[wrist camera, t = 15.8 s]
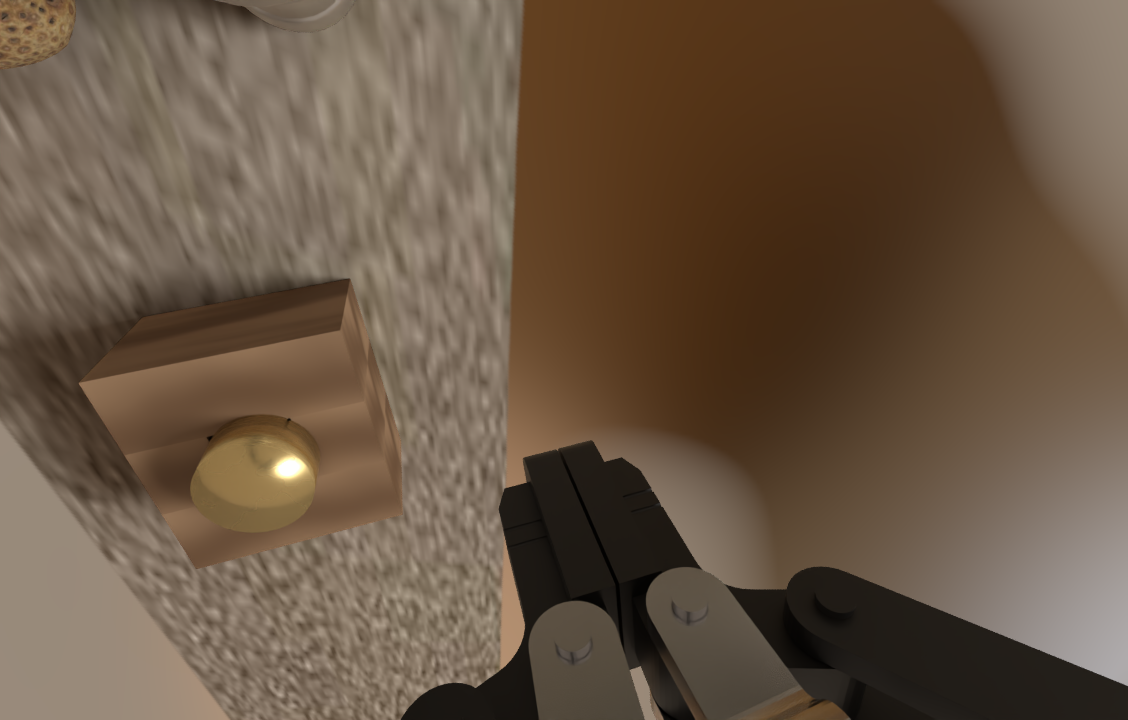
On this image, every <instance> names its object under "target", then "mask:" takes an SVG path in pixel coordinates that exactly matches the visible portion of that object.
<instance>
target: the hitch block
mask: <svg viewBox="0 0 1128 720" xmlns="http://www.w3.org/2000/svg"><path fill="white" fill-rule="evenodd" d="M79 385H80V386H81V388H82V389H83V391H84V393H85V394H86V396H87V397H88V399H89V400H90V402H91V404H92V405H93V407H94V408H95V410H96V411H97V413H98V415H99V416H100V418H101V419H102V421H103V423H104V424H105V426H106V427H107V429H108V430H109V432H110V434H111V435H112V437H113V438H114V440H115V441H116V443H117V445H118V446H119V448H120V449H121V451H122V453H123V454H124V456H125V457H126V459H127V460H128V462H129V464H130V465H131V467H132V468H133V470H134V471H135V473H136V475H137V476H138V478H139V479H140V481H141V482H142V484H143V486H144V487H145V489H146V490H147V492H148V494H149V495H150V497H151V498H152V500H153V501H154V503H155V505H156V506H157V508H158V509H159V511H160V512H161V514H162V516H163V517H164V519H165V520H166V522H167V524H168V525H169V527H170V528H171V530H172V531H173V533H174V535H175V536H176V538H177V539H178V541H179V542H180V544H181V546H182V547H183V549H184V550H185V552H186V553H187V555H188V557H189V558H190V560H191V561H192V563H193V565H194V566H195V568H196V569H199V568H202V567H206V566H210V565H214V564H217V563H221V562H225V561H229V560H233V559H236V558H240V557H244V556H248V555H251V554H255V553H259V552H263V551H267V550H270V549H274V548H278V547H282V546H285V545H289V544H293V543H297V542H301V541H304V540H308V539H312V538H316V537H319V536H323V535H327V534H331V533H335V532H338V531H342V530H346V529H350V528H353V527H357V526H361V525H365V524H368V523H372V522H376V521H380V520H384V519H387V518H391V517H395V516H399V515H402V514H403V509H402V469H401V440H400V437H399V433H398V430H397V427H396V424H395V421H394V417H393V414H392V411H391V408H390V405H389V401H388V398H387V395H386V392H385V389H384V385H383V382H382V379H381V376H380V373H379V369H378V366H377V363H376V360H375V357H374V353H373V350H372V347H371V344H370V341H369V337H368V334H367V331H366V328H365V325H364V321H363V318H362V315H361V312H360V309H359V305H358V302H357V299H356V296H355V293H354V289H353V286H352V283H351V280H350V279H346V280H340V281H335V282H330V283H324V284H319V285H313V286H308V287H303V288H297V289H292V290H286V291H281V292H276V293H270V294H265V295H259V296H254V297H249V298H243V299H238V300H232V301H227V302H222V303H216V304H211V305H205V306H200V307H195V308H189V309H184V310H178V311H173V312H168V313H162V314H157V315H151V316H146V317H142V318H141V319H140V320H139V322H138V323H137V324H136V325H135V326H134V327H133V328H132V329H131V330H130V331H129V332H128V333H127V334H126V335H125V336H124V337H123V338H122V339H121V340H120V341H119V342H118V343H117V344H116V345H115V346H114V347H113V348H112V349H111V350H110V351H109V352H108V353H107V354H106V355H105V356H104V357H103V358H102V359H101V360H100V361H99V362H98V363H97V364H96V365H95V367H94V368H93V369H92V370H91V371H90V372H89V373H88V374H87V375H86V376H85V377H84V378H83V379H82V380H81V381H80V382H79ZM258 414H266V415H275V416H280V417H284V418H287V419H288V418H290V419H291V420H292V421H294V422H296V423H298V424H300V425H301V426H303V427H304V428H305V429H306V430H308V431H309V432H310V433H311V435H312V436H313V437H314V439H315V440H316V442H317V444H318V446H319V450H320V464H319V470H318V476H317V481H316V487H315V492H314V497H313V500H312V503H311V505H310V506H309V508H308V509H307V511H306V512H305V513H304V514H303V515H302V516H301V517H300V518H299V519H297V520H296V521H294V522H293V523H291V524H289V525H287V526H285V527H282V528H279V529H276V530H272V531H267V532H258V533H249V532H239V531H234V530H230V529H227V528H224V527H221V526H219V525H217V524H215V523H213V522H211V521H210V520H208V519H207V518H206V517H205V516H203V515H202V514H201V513H200V512H199V510H198V509H197V508H196V506H195V504H194V502H193V500H192V497H191V491H190V486H191V480H192V477H193V475H194V473H195V471H196V469H197V466H198V464H199V462H200V460H201V458H202V456H203V454H204V452H205V450H206V448H207V446H208V444H209V442H210V440H211V438H212V436H213V435H214V434H215V433H216V432H217V431H218V430H219V429H220V428H221V427H222V426H224V425H225V424H227V423H229V422H230V421H232V420H235V419H237V418H240V417H244V416H249V415H258Z"/></svg>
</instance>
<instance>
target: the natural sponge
mask: <svg viewBox="0 0 1128 720" xmlns="http://www.w3.org/2000/svg"><path fill="white" fill-rule="evenodd" d="M75 17H76V6H75V0H0V70H1V69H9V68H16V67H21V66H26V65H30V64H34V63H37V62H40V61H42V60H45V59H47V58H49V57H51V56H53V55H55V54H57V53H58V52H60V51H61V50H62V49H63V48H65V47H66V46H67V45H68V42H69V40H70V37H71V35H72V31H73V27H74V23H75Z"/></svg>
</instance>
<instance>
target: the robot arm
mask: <svg viewBox="0 0 1128 720" xmlns="http://www.w3.org/2000/svg"><path fill="white" fill-rule="evenodd" d="M523 464H524V470H525V475H526V481H527V483H524V484H520V485H516V486H513V487H509V488H505V489H504V492H503V496H502V499H501V503H500V506H499V513H500V517H501V522H502V527H503V531H504V536H505V540H506V545H507V549H508V554H509V559H510V563H511V567H512V571H513V576H514V580H515V584H516V588H517V592H518V597H519V600H520V605H521V609H522V613H523V618H524V622H525V631H524V637H523V640H522V643H521V645H520V647H519V649H518V651H517V653H516V654H515V655H514V657H513V658H512V660H511V661H510V662H509V663H508V664H507V665H506V666H505V667H504V668H503V669H501V670H500V671H499V672H498V673H496V674H495V675H493V676H492V677H491V678H489V679H488V680H486V681H485V682H484V683H482V684H481V685H479V686H478V687H477V688H474V687H472V686H471V685H467V684H463V683H448V684H444V685H440V686H437V687H435V688H433V689H431V690H429V691H427V692H426V693H424V694H423V695H421V696H420V697H419V698H418V699H417V700H415V702H414V703H413V704H412V705H411V706H410V707H409V708H408V709H407V711H406V712H405V714H404V715H403V717H402V718H401V720H645V719H644V716H643V712H642V709H641V706H640V703H639V699H638V696H637V693H636V690H635V686H634V683H633V680H632V677H631V673H630V670H631V669H633V668H636V667H639V666H641V668H642V670H643V673H644V675H645V678H646V680H647V683H648V685H649V688H650V703H651V707H652V711H653V713H654V716H655V718H656V720H1128V686H1126V685H1124V684H1121V683H1119V682H1116V681H1114V680H1111V679H1109V678H1106V677H1104V676H1101V675H1099V674H1097V673H1094V672H1092V671H1089V670H1087V669H1084V668H1081V667H1079V666H1077V665H1074V664H1072V663H1069V662H1067V661H1064V660H1062V659H1059V658H1057V657H1055V656H1052V655H1050V654H1047V653H1045V652H1042V651H1040V650H1037V649H1035V648H1032V647H1029V646H1027V645H1025V644H1022V643H1020V642H1018V641H1015V640H1013V639H1010V638H1008V637H1005V636H1003V635H1000V634H998V633H995V632H993V631H990V630H988V629H985V628H983V627H980V626H978V625H975V624H973V623H971V622H968V621H966V620H963V619H961V618H958V617H956V616H953V615H951V614H948V613H946V612H943V611H941V610H938V609H936V608H933V607H931V606H929V605H926V604H924V603H921V602H919V601H916V600H914V599H911V598H909V597H906V596H904V595H901V594H899V593H896V592H894V591H892V590H889V589H886V588H884V587H882V586H879V585H877V584H874V583H872V582H869V581H867V580H864V579H862V578H859V577H857V576H854V575H852V574H850V573H847V572H844V571H841V570H839V569H835V568H830V567H812V568H807V569H804V570H802V571H800V572H798V573H797V574H795V575H794V576H793V578H791V580H790V582H789V583H788V587H787V590H753V589H752V590H751V589H740V588H735V587H731V586H728V585H725V584H724V583H723V582H722V581H720V580H719V579H718V578H717V577H715V576H714V575H712V574H711V573H708V572H706V571H704V570H702V569H701V568H700V566H699V565H698V564H697V562H696V561H695V559H694V557H693V556H692V554H691V553H690V551H689V549H688V548H687V546H686V544H685V543H684V541H683V539H682V538H681V536H680V535H679V533H678V531H677V530H676V528H675V526H674V525H673V523H672V521H671V520H670V518H669V517H668V515H667V513H666V512H665V510H664V508H663V507H661V505H660V502H659V500H658V499H657V497H656V495H655V494H654V492H652V490H651V487H650V485H649V484H648V482H647V480H646V479H645V477H644V476H643V474H642V473H641V471H640V470H639V469H638V468H636V467H635V466H633V465H632V464H630V463H629V462H627V461H626V460H625V459H623V458H618V459H614V460H610V461H606V462H604V461H603V459H602V457H601V455H600V453H599V451H598V449H597V448H596V446H595V444H594V442H593V441H591V440H590V441H587V442H582V443H578V444H575V445H571V446H567V447H563V448H559V449H558V451H557V450H552V451H548V452H544V453H541V454H536V455H532V456H528V457H525V458H523Z"/></svg>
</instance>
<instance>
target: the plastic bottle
mask: <svg viewBox="0 0 1128 720" xmlns="http://www.w3.org/2000/svg"><path fill="white" fill-rule="evenodd" d="M215 1H219V2H224V3H228V4H232V5H237V6H244V7H246V8H247V9H248V10H249V11H250V12H251V13H253V14H254V15H256V16H257V17H259V18H260V19H262V20H264V21H265V22H267V23H269V24H271V25H274V26H276V27H278V28H281V29H284V30H289V31H293V32H315V31H320V30H324V29H326V28H328V27H330V26H332V25H335V24H336V23H337V22H339V21H340V20H341V19H342V18H343V17H344V16H346V14H347V13H348V11H349V10H350V9H351V7H352V6H353V4H354V2H355V0H215Z"/></svg>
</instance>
